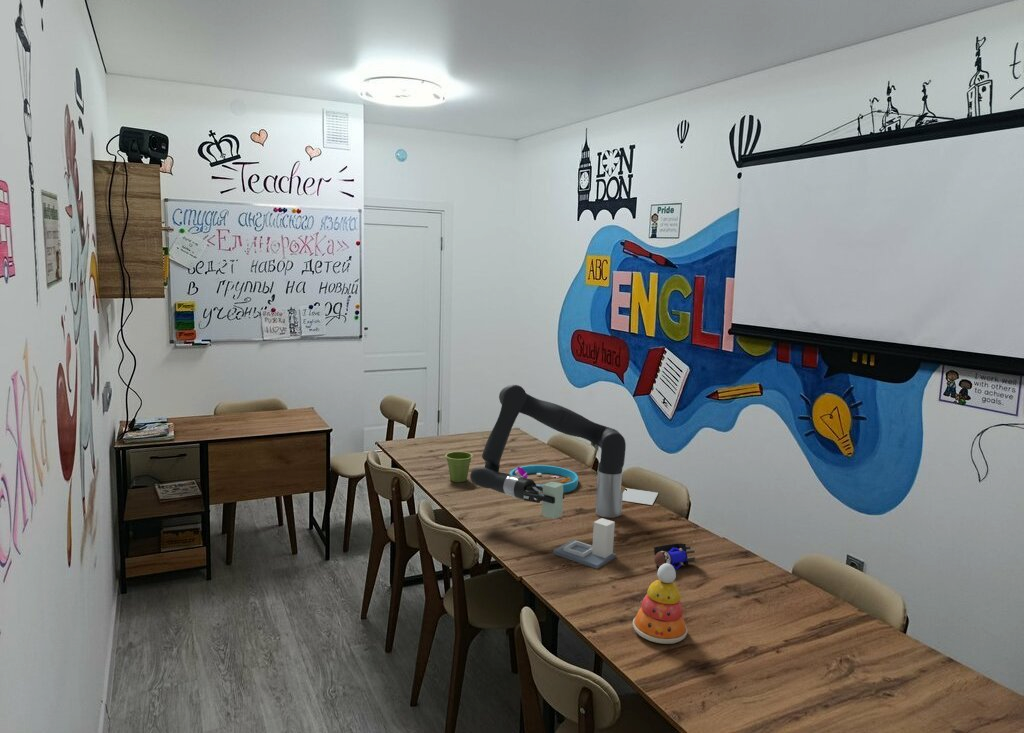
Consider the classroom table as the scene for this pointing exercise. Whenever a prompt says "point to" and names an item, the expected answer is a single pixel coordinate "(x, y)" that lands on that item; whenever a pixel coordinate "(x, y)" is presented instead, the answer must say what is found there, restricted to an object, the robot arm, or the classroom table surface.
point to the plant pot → (458, 465)
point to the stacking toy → (661, 610)
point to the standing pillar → (603, 538)
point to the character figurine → (672, 555)
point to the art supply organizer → (552, 470)
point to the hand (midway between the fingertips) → (559, 498)
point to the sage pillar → (556, 508)
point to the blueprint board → (582, 554)
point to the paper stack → (639, 496)
